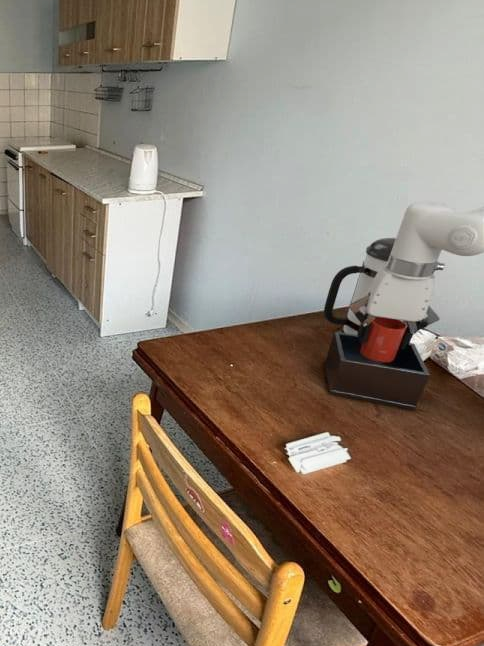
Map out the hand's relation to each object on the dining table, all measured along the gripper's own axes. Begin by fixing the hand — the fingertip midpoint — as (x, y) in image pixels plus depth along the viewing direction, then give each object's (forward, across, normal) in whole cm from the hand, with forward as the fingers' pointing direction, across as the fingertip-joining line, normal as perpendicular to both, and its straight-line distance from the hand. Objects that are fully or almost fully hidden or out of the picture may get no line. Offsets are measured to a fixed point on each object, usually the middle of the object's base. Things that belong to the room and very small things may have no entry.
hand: (381, 342), depth 103 cm
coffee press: (+11, -2, -22) cm, 25 cm away
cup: (+3, 0, 0) cm, 3 cm away
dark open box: (+11, 0, 0) cm, 11 cm away
